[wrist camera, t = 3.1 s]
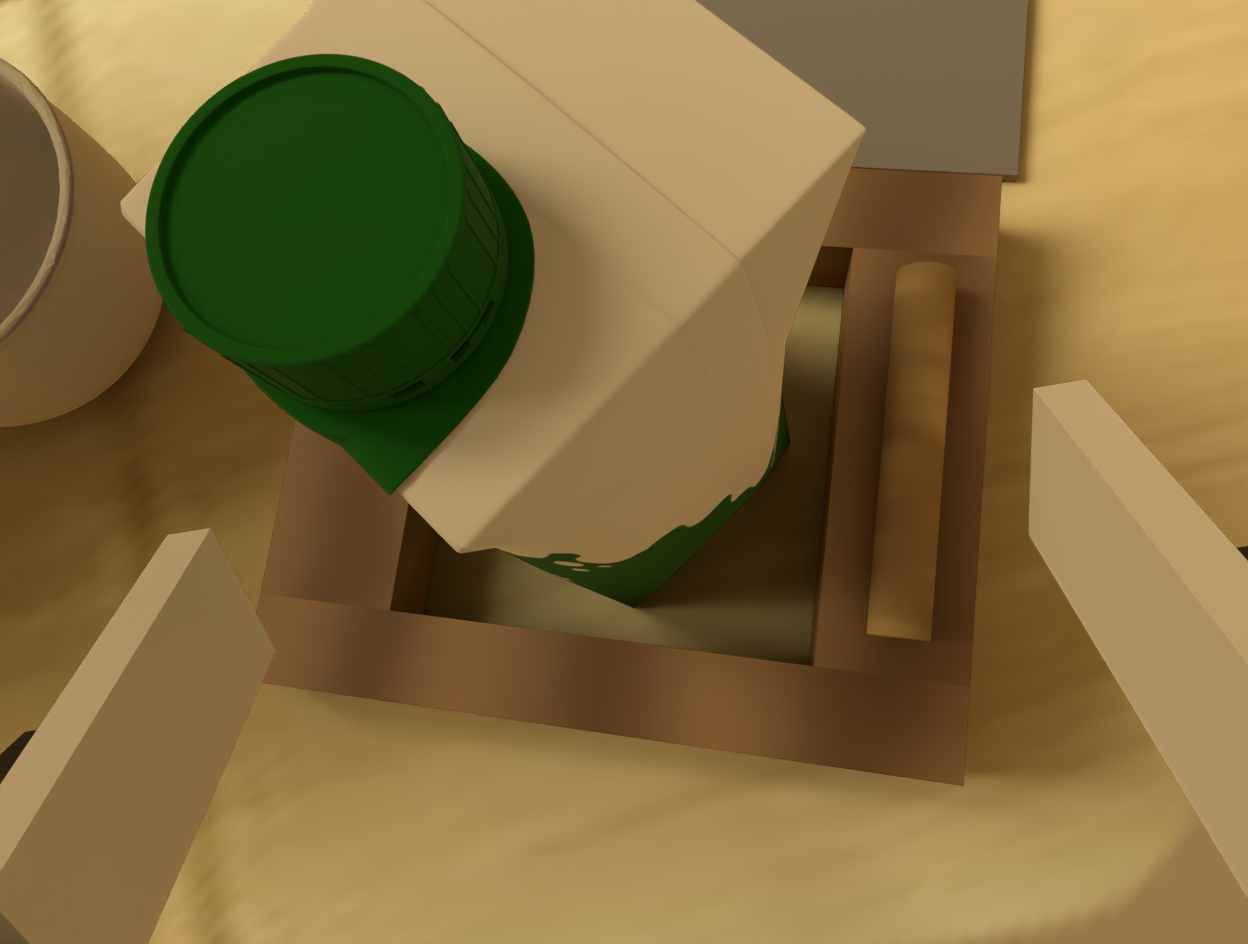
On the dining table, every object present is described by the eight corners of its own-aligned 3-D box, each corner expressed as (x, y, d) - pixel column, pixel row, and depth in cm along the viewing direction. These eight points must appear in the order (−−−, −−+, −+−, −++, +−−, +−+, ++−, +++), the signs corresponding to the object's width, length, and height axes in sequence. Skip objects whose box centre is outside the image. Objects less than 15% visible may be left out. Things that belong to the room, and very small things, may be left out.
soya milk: (444, 463, 32) (-55, 129, 12) (634, 266, 32) (447, -358, 13) (636, 652, 30) (406, 612, 10) (837, 438, 30) (983, 8, 11)
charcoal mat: (586, 158, 33) (584, 152, 33) (631, -142, 35) (630, -151, 35) (1014, 181, 31) (1017, 175, 31) (1033, -141, 33) (1037, -151, 33)
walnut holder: (291, 679, 31) (213, 680, 26) (385, 187, 34) (329, 114, 29) (941, 773, 28) (977, 793, 23) (978, 223, 31) (1016, 146, 26)
